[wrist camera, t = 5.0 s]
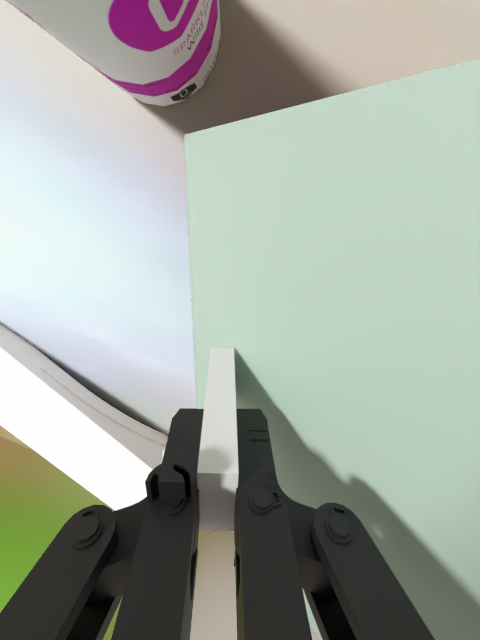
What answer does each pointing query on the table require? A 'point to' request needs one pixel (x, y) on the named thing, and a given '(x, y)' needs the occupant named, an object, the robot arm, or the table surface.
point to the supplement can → (137, 41)
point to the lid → (357, 313)
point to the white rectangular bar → (75, 426)
